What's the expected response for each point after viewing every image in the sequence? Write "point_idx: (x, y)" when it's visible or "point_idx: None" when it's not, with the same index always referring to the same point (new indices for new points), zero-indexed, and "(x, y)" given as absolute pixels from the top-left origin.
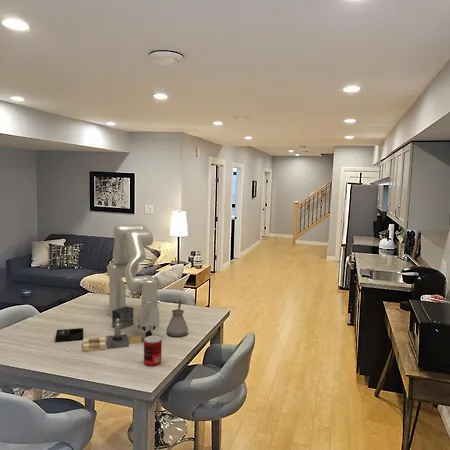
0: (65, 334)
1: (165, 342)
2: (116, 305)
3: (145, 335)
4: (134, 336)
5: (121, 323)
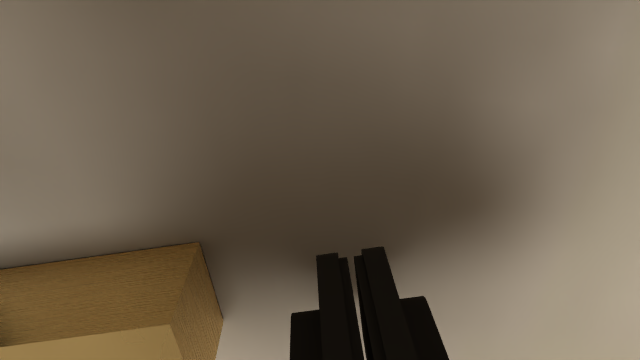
0: None
1: (620, 307)
2: None
3: (291, 341)
4: (33, 355)
5: None
